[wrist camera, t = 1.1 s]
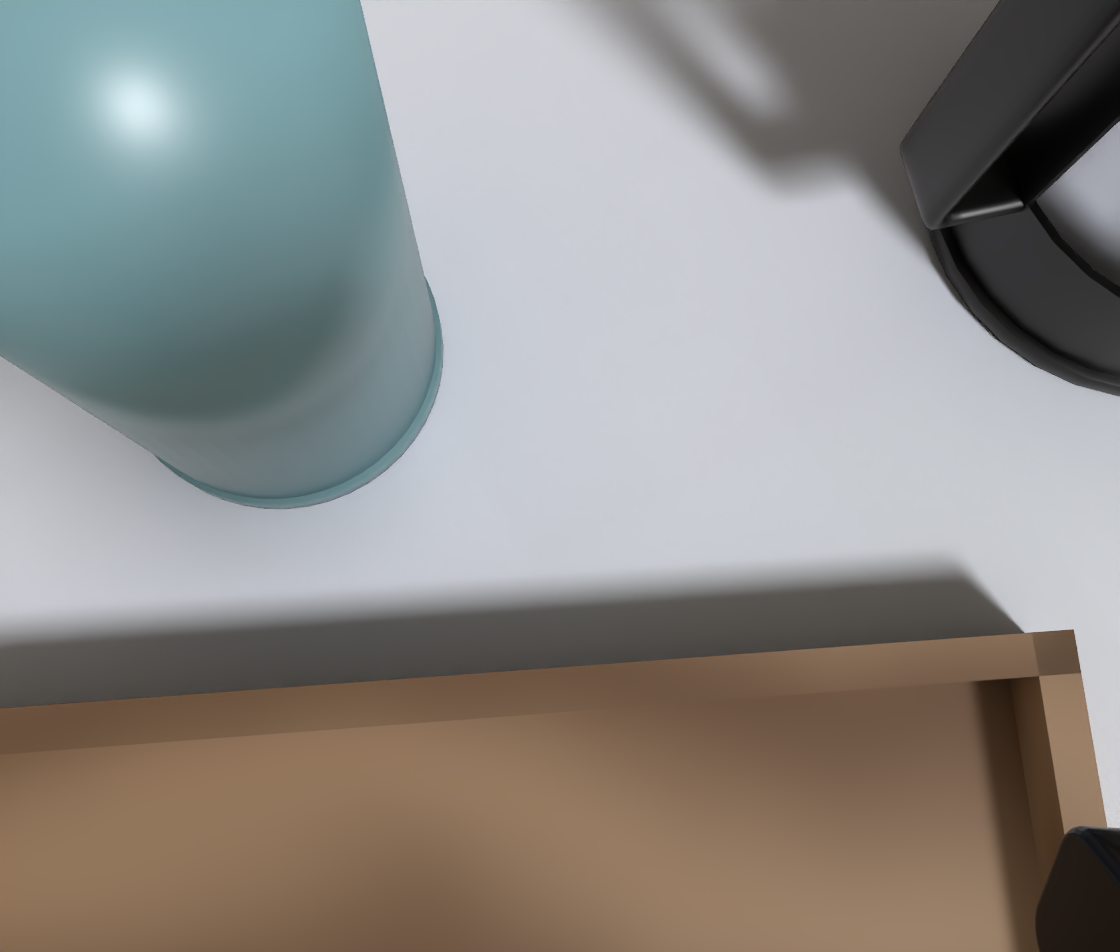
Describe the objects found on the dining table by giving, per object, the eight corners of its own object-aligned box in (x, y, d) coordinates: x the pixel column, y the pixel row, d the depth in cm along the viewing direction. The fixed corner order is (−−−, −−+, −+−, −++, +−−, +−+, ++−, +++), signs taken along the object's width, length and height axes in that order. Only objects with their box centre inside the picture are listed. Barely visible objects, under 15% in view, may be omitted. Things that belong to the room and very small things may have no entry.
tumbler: (257, 575, 21) (-157, 397, 8) (61, 337, 22) (-594, -164, 9) (507, 370, 22) (489, -73, 9) (311, 151, 23) (45, -535, 10)
